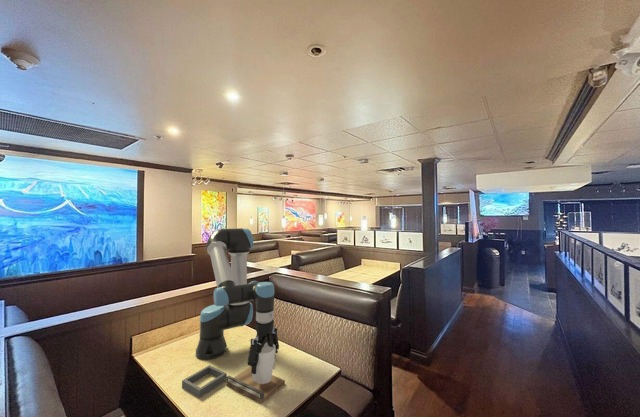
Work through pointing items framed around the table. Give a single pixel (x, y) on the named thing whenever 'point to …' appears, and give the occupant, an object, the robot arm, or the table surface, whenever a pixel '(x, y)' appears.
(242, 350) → the table surface
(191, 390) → the frame
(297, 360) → the table surface
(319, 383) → the table surface
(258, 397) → the shelf board
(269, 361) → the foam cup
